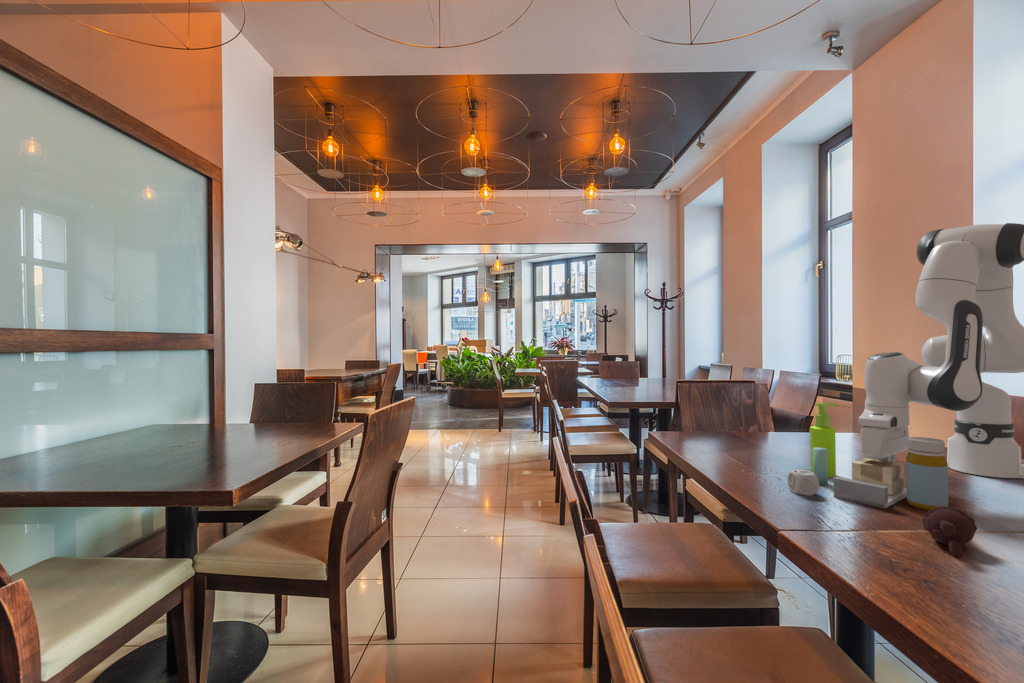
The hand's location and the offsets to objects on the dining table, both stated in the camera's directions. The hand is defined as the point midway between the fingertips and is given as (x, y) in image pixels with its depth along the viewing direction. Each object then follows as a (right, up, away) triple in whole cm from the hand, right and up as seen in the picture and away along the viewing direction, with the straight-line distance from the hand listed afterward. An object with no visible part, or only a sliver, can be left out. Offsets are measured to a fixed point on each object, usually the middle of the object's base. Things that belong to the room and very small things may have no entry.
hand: (887, 471), depth 119 cm
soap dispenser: (-7, -5, +13) cm, 16 cm away
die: (-23, -5, -2) cm, 23 cm away
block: (-5, -3, -4) cm, 7 cm away
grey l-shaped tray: (-7, -4, -5) cm, 10 cm away
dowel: (-13, -5, +5) cm, 15 cm away
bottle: (-2, -4, -13) cm, 14 cm away
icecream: (-15, -4, -33) cm, 36 cm away
